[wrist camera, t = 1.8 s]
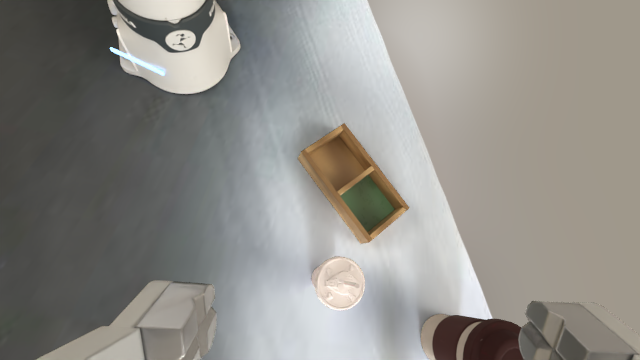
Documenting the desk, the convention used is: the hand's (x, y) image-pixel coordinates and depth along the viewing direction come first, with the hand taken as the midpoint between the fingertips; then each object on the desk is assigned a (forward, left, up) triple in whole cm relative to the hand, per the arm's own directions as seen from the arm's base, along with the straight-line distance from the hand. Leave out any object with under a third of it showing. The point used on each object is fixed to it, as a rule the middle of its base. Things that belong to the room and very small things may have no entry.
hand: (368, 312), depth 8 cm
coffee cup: (+21, +21, -40) cm, 49 cm away
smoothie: (+5, +7, -40) cm, 40 cm away
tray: (-7, +17, -39) cm, 44 cm away
